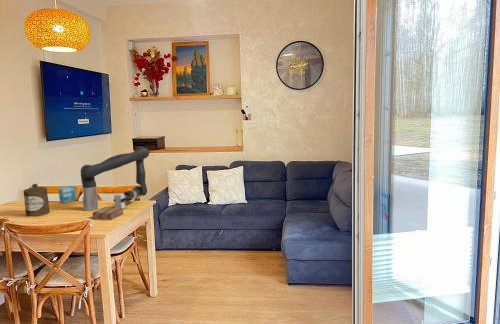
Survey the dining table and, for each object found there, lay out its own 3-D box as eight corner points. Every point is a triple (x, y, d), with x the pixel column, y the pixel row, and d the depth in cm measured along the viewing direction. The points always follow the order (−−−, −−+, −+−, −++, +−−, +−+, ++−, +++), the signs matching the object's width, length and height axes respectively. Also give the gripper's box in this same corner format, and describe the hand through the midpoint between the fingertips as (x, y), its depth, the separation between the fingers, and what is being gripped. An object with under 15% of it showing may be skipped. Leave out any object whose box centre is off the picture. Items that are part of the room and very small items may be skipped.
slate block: (115, 208, 268) (114, 195, 267) (119, 206, 273) (118, 193, 271) (121, 208, 267) (120, 195, 266) (125, 207, 272) (124, 193, 270)
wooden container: (21, 217, 258) (18, 186, 255) (32, 211, 273) (29, 182, 270) (43, 216, 259) (40, 185, 256) (53, 210, 274) (50, 181, 271)
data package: (63, 203, 295) (62, 188, 293) (59, 203, 297) (58, 188, 295) (76, 200, 306) (75, 185, 304) (72, 199, 308) (71, 185, 306)
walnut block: (93, 219, 250) (92, 212, 249) (105, 213, 263) (105, 207, 262) (111, 220, 246) (110, 213, 246) (123, 214, 260) (122, 207, 259)
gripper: (121, 190, 284) (108, 195, 267) (138, 190, 281) (126, 195, 264) (121, 199, 285) (109, 205, 268) (138, 200, 282) (127, 206, 265)
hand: (117, 200), depth 266 cm, fingers closed on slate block, 5 cm apart
